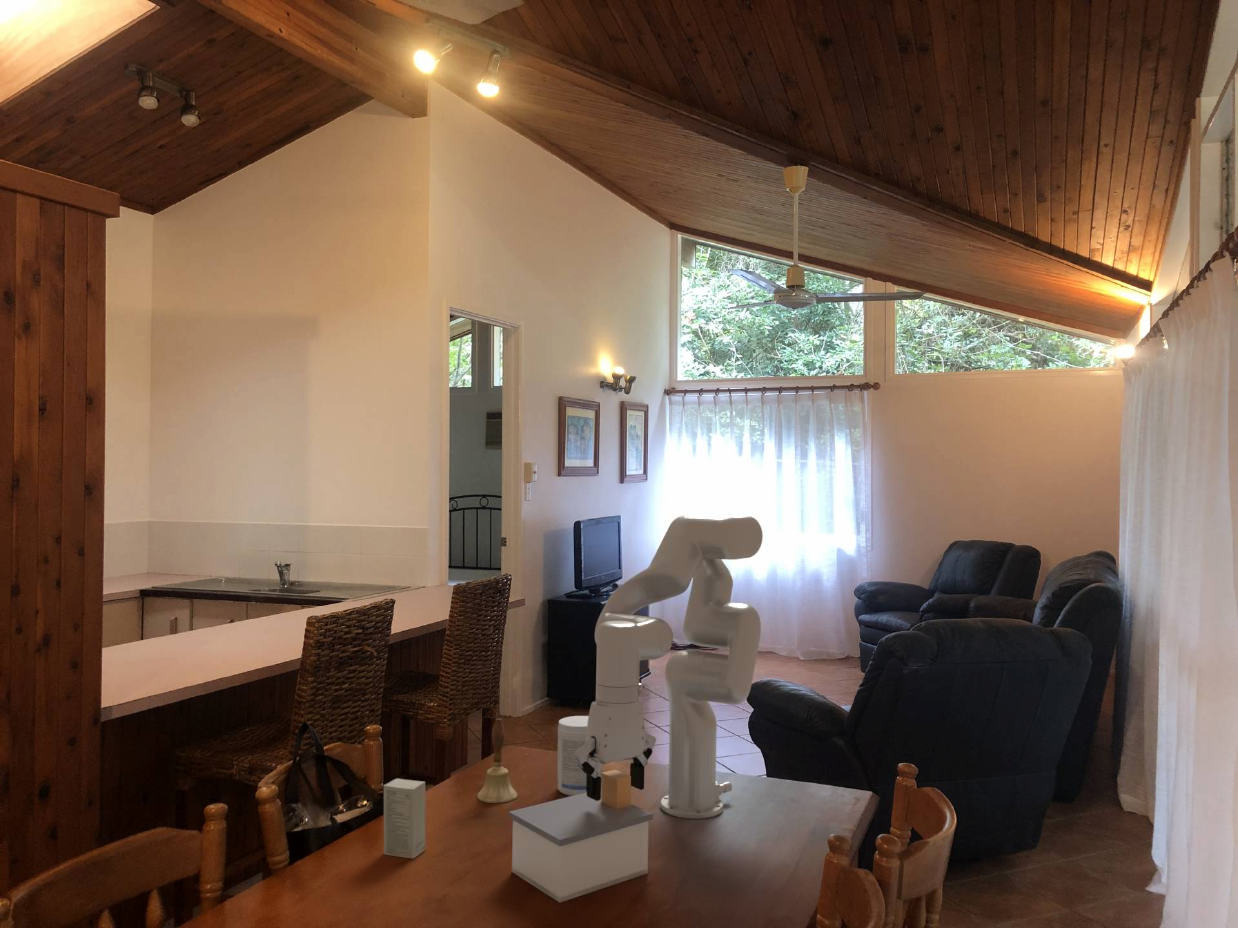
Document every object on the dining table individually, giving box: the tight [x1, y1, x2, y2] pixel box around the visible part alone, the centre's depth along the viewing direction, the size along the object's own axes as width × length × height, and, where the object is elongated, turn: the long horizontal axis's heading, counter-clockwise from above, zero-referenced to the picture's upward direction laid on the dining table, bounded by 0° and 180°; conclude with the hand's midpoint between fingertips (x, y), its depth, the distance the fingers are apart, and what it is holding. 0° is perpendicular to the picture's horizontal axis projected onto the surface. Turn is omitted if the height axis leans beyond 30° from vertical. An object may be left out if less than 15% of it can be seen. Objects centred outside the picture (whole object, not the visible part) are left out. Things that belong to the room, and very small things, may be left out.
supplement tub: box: [557, 715, 603, 797], centre depth 195 cm, size 10×10×15 cm
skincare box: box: [383, 777, 427, 860], centre depth 162 cm, size 6×4×12 cm
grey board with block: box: [508, 769, 654, 846], centre depth 155 cm, size 19×15×7 cm
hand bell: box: [476, 718, 518, 804], centre depth 191 cm, size 8×8×16 cm
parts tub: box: [511, 820, 649, 904], centre depth 154 cm, size 18×14×9 cm
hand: (615, 792), depth 159 cm, fingers open, 9 cm apart
